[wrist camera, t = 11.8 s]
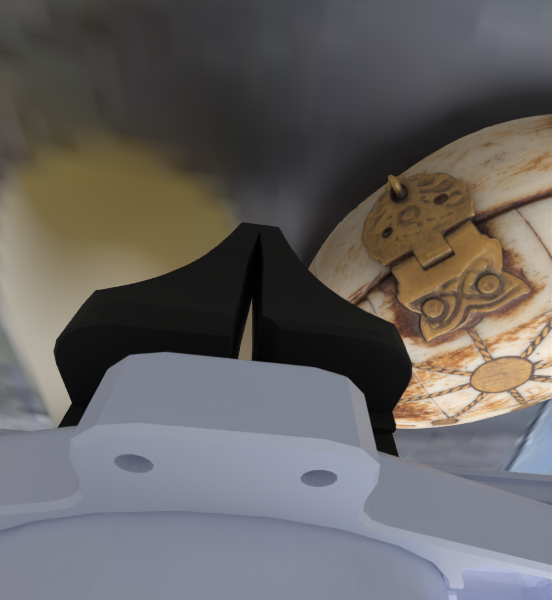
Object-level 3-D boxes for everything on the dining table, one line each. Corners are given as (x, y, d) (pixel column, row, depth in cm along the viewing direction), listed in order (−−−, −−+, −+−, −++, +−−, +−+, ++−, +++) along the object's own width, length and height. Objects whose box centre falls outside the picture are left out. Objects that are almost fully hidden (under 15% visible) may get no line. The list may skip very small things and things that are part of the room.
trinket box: (675, 145, 14) (992, 230, 8) (458, 371, 23) (524, 494, 17) (383, 31, 12) (494, 20, 6) (270, 328, 21) (264, 452, 14)
